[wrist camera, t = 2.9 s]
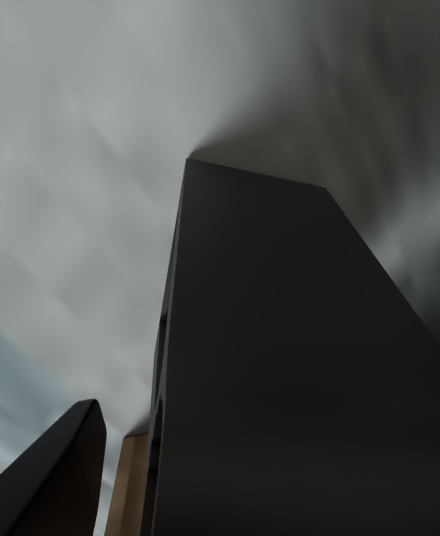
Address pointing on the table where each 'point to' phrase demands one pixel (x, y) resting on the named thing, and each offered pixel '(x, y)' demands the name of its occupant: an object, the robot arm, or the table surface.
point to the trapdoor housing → (128, 488)
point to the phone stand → (286, 374)
